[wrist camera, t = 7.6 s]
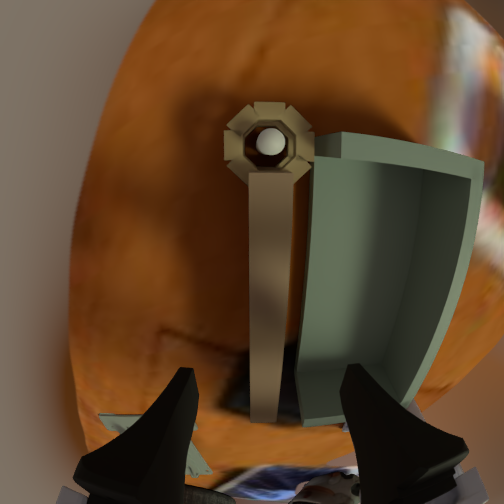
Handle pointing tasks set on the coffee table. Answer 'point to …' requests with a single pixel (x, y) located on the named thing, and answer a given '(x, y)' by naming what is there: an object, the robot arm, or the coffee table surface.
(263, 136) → the sage green open box
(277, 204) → the brown gear-headed lever
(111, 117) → the coffee table surface
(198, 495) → the planter
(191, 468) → the metal bracket
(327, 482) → the lucky cat figurine
